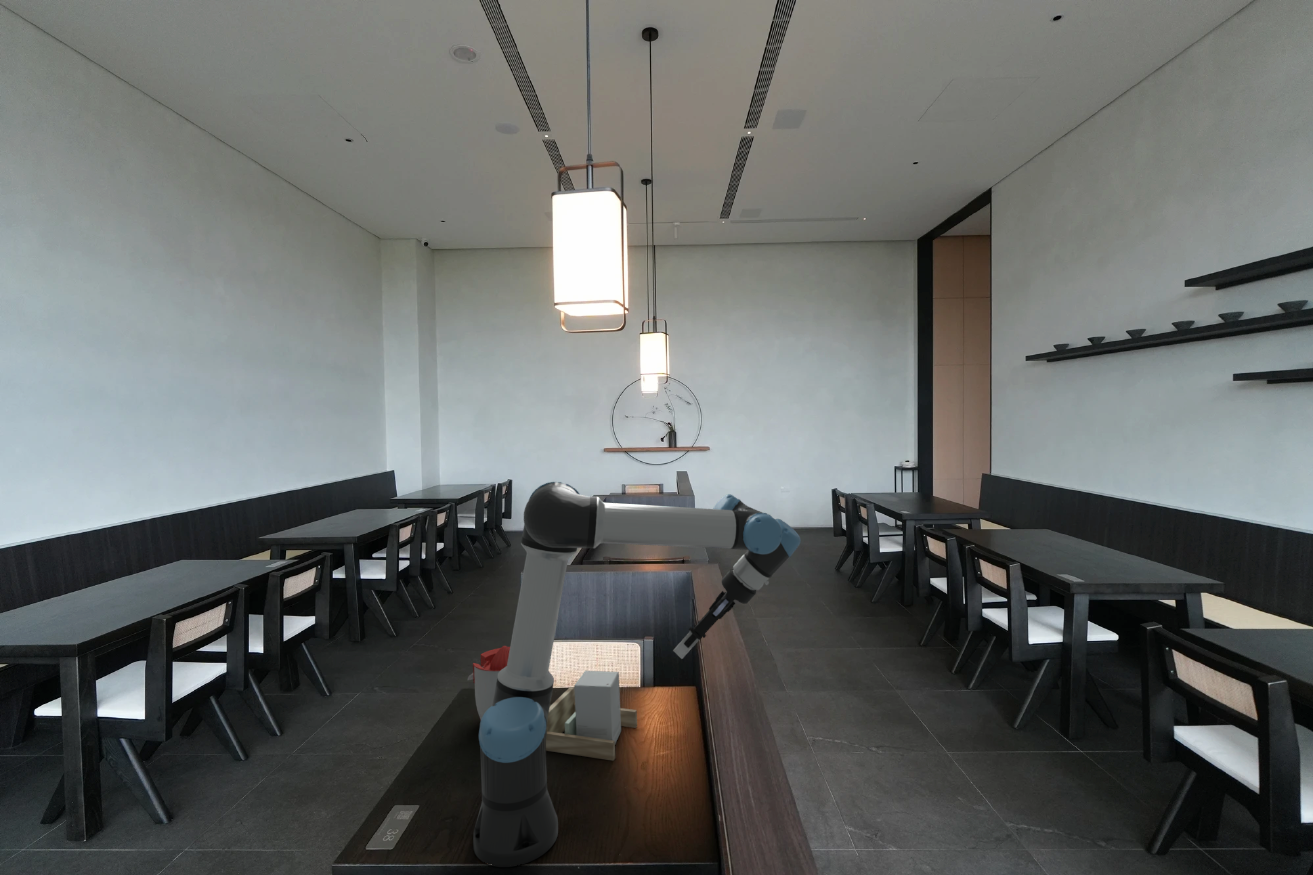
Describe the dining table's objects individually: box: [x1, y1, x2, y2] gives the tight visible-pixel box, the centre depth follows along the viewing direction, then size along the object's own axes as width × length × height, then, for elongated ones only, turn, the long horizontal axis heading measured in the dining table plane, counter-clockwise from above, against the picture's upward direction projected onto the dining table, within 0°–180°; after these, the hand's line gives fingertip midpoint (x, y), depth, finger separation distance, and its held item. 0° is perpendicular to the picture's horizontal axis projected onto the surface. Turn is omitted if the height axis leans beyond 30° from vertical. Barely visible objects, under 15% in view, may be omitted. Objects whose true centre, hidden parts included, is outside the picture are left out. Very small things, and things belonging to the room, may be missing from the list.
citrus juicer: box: [467, 645, 510, 721], centre depth 151 cm, size 16×17×20 cm
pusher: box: [564, 712, 577, 735], centre depth 144 cm, size 13×1×6 cm, turn 162°
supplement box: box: [573, 670, 622, 744], centre depth 142 cm, size 9×9×15 cm
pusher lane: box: [546, 686, 638, 761], centre depth 143 cm, size 16×18×8 cm
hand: (678, 653), depth 135 cm, fingers closed
